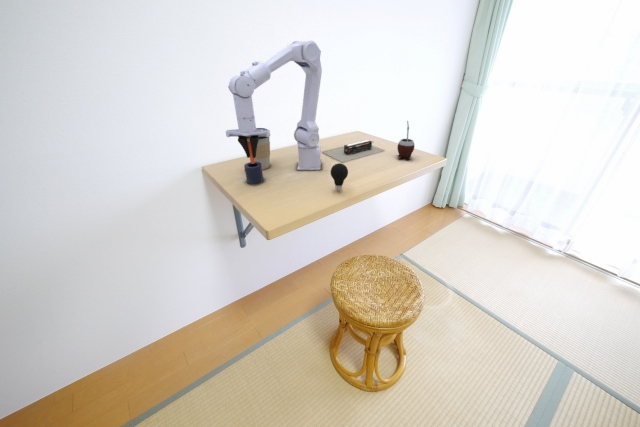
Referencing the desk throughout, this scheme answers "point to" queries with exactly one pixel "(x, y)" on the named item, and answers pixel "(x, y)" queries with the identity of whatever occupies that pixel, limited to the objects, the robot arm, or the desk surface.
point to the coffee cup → (263, 151)
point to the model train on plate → (353, 151)
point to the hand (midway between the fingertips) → (251, 156)
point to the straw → (250, 151)
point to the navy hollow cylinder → (254, 173)
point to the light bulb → (339, 175)
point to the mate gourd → (405, 147)
